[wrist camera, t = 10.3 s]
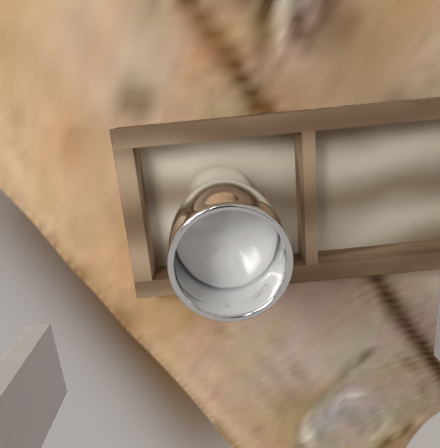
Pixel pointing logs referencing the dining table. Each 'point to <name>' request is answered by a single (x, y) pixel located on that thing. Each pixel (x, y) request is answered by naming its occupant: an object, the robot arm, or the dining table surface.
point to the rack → (297, 185)
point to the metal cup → (227, 248)
